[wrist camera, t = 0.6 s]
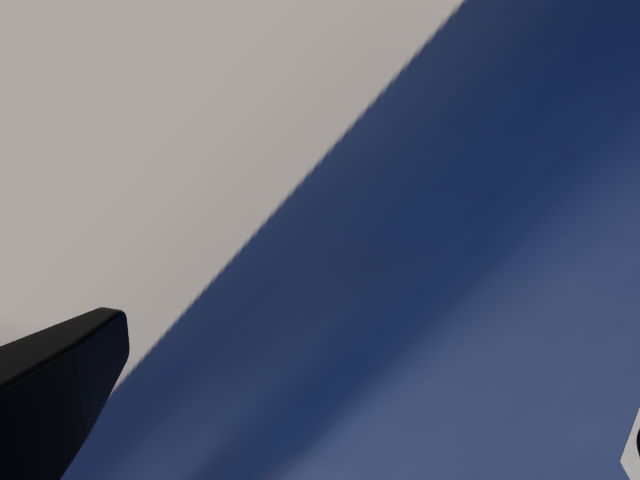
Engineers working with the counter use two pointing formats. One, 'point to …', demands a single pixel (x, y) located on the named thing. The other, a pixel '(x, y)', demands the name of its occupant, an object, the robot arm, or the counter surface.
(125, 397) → the counter surface
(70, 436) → the robot arm
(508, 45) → the counter surface
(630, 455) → the tray
